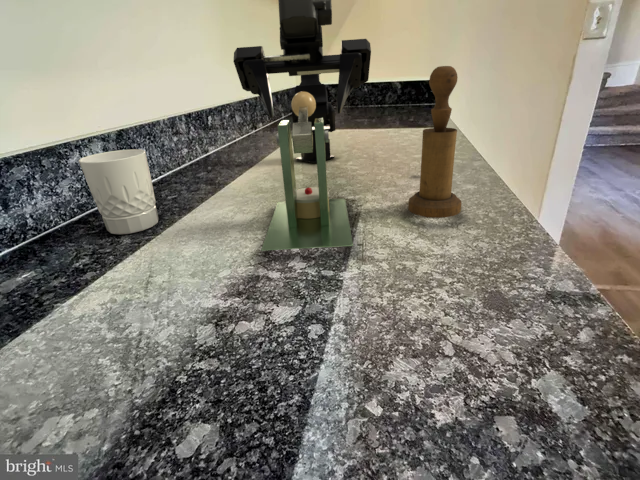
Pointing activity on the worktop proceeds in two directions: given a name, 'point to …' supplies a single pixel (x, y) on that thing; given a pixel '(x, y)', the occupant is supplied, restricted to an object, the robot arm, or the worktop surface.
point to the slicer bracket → (285, 221)
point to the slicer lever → (303, 122)
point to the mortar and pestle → (438, 153)
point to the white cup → (122, 189)
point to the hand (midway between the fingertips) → (304, 113)
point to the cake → (308, 203)
